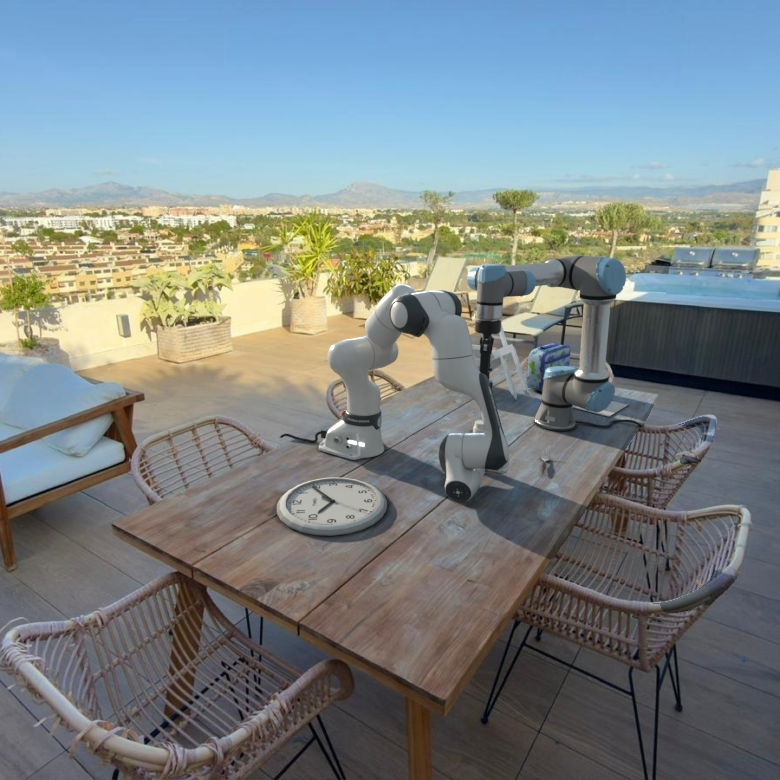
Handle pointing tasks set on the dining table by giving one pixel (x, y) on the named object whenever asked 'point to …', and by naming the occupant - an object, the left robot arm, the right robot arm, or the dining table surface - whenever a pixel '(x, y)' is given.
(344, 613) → the dining table surface
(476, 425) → the white cylinder
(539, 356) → the lunch box
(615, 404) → the invitation card
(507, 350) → the white plastic object
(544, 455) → the fork
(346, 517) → the wall clock
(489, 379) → the lid
